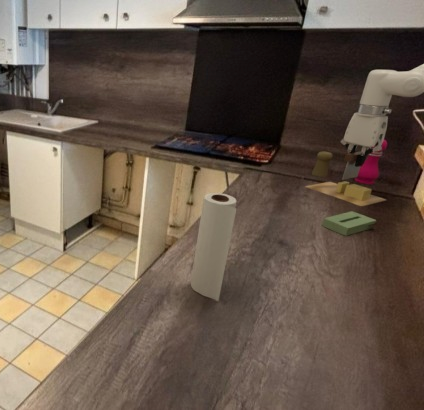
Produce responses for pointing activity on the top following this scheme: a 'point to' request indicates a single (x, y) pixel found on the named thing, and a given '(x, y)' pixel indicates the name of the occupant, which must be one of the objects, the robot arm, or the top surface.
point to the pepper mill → (370, 167)
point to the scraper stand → (348, 223)
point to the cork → (322, 164)
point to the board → (331, 190)
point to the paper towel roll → (213, 244)
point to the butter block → (357, 192)
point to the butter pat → (341, 186)
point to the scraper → (351, 165)
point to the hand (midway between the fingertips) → (354, 164)
